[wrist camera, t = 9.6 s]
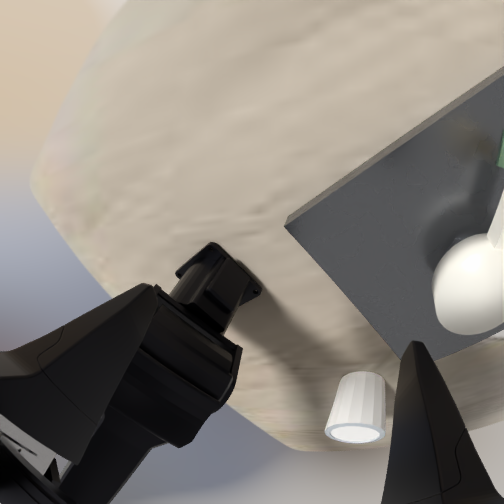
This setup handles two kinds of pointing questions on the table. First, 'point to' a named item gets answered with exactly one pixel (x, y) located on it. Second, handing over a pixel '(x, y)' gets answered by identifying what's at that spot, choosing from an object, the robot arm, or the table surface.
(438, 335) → the base
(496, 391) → the table surface
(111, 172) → the table surface
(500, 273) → the beige rounded piece
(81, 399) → the robot arm
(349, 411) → the shot glass
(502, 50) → the table surface
